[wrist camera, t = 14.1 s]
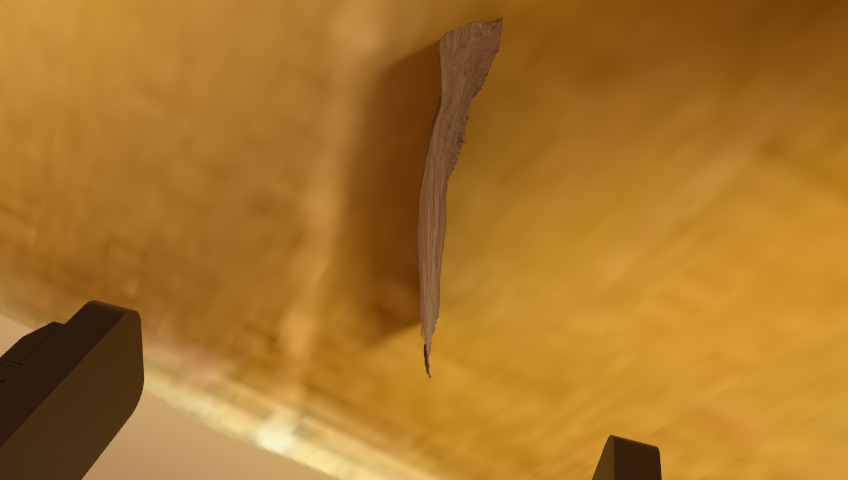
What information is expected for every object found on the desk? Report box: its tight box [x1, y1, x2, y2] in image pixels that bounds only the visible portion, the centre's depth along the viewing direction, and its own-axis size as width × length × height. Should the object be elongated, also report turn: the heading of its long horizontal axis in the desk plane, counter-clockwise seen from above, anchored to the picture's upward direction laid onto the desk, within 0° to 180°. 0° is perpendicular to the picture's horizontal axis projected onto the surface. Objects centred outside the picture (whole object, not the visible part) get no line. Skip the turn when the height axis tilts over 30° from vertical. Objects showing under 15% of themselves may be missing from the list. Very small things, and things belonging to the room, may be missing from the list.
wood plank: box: [418, 17, 503, 378], centre depth 34 cm, size 15×2×5 cm, turn 176°
